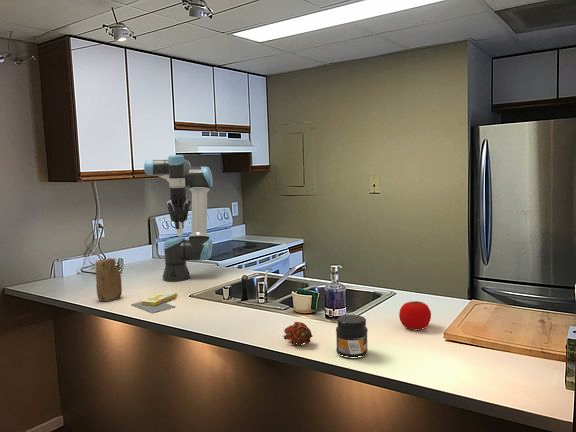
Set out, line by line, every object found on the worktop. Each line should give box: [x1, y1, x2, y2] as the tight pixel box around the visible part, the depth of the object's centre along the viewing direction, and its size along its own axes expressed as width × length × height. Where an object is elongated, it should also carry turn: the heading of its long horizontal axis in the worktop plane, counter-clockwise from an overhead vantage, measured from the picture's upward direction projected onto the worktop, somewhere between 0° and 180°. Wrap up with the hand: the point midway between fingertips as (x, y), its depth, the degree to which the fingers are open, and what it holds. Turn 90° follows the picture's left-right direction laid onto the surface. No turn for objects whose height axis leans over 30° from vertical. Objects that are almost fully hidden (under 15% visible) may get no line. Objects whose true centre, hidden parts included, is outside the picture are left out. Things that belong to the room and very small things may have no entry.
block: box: [95, 258, 123, 302], centre depth 239 cm, size 11×8×20 cm
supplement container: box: [335, 314, 369, 357], centre depth 164 cm, size 10×10×12 cm
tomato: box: [398, 300, 432, 330], centre depth 188 cm, size 12×12×10 cm
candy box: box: [140, 291, 178, 306], centre depth 234 cm, size 16×2×8 cm
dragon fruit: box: [283, 321, 313, 346], centre depth 175 cm, size 8×8×12 cm
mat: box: [130, 301, 176, 314], centre depth 227 cm, size 12×20×1 cm, turn 44°
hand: (180, 235), depth 239 cm, fingers closed
